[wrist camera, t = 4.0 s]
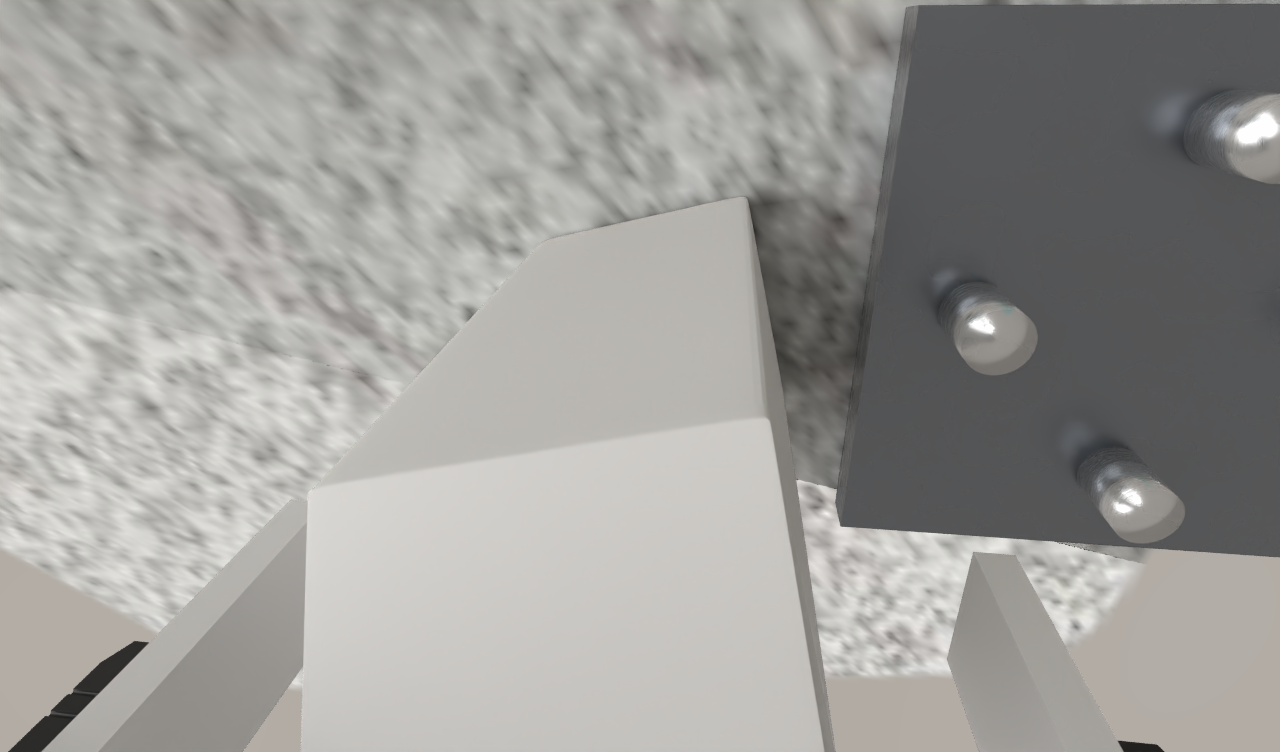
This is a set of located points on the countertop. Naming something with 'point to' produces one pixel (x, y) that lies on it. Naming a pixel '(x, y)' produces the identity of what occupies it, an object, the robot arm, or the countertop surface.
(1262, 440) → the plate
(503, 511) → the milk carton
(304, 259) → the countertop surface
